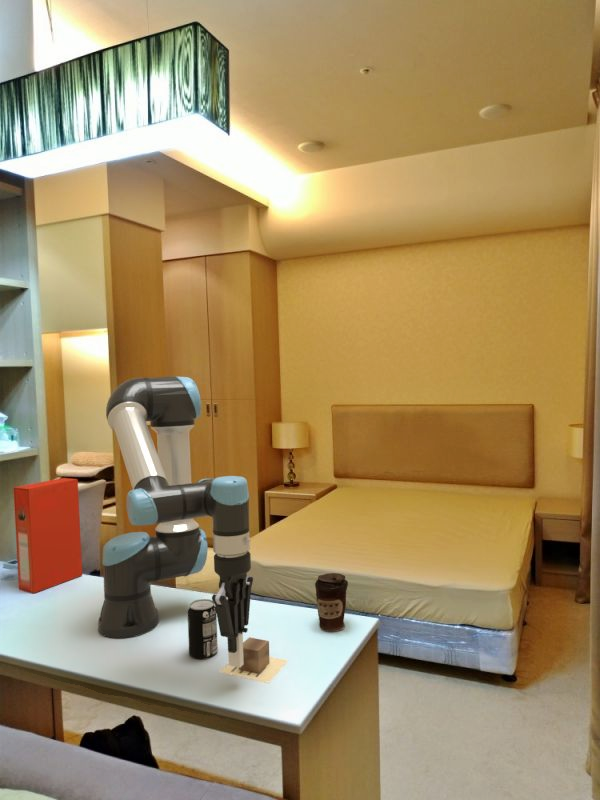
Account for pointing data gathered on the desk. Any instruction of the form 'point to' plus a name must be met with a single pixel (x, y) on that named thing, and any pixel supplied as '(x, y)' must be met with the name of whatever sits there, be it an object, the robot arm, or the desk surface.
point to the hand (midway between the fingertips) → (236, 664)
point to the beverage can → (202, 629)
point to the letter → (263, 676)
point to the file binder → (47, 533)
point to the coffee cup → (331, 601)
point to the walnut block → (255, 655)
